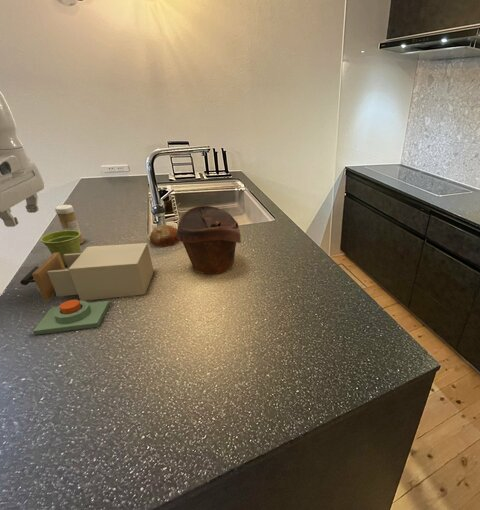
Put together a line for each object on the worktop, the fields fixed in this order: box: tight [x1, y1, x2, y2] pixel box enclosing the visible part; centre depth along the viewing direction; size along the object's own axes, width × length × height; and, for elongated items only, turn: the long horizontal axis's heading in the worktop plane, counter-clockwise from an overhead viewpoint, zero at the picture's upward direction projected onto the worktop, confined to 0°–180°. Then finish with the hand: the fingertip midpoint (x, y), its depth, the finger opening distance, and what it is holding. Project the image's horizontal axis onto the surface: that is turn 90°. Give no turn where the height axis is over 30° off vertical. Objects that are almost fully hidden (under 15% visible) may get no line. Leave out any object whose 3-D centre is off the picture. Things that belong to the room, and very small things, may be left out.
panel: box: [32, 299, 111, 336], centre depth 73 cm, size 12×9×3 cm
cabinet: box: [69, 242, 155, 302], centre depth 85 cm, size 15×13×10 cm
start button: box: [59, 299, 81, 314], centre depth 72 cm, size 4×4×2 cm
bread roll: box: [149, 224, 180, 247], centre depth 113 cm, size 10×10×8 cm
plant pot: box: [39, 229, 82, 266], centre depth 95 cm, size 9×9×9 cm
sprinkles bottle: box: [54, 204, 85, 245], centre depth 104 cm, size 5×5×14 cm
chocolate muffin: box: [176, 205, 242, 275], centre depth 97 cm, size 18×20×18 cm
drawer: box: [19, 252, 83, 301], centre depth 82 cm, size 18×12×8 cm, turn 109°
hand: (23, 218), depth 74 cm, fingers open, 8 cm apart
